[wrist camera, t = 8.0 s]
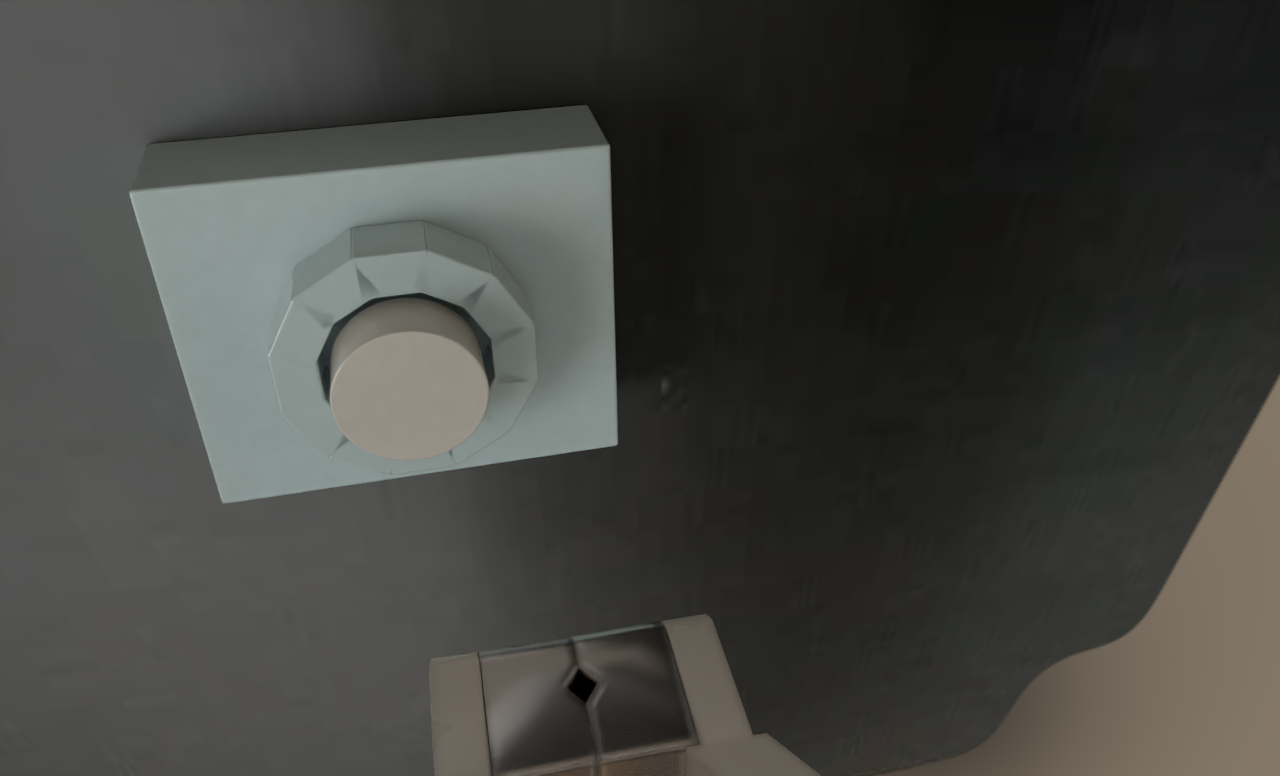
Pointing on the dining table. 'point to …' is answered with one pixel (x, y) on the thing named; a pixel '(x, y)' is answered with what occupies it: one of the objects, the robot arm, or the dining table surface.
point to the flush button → (408, 379)
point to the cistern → (384, 282)
